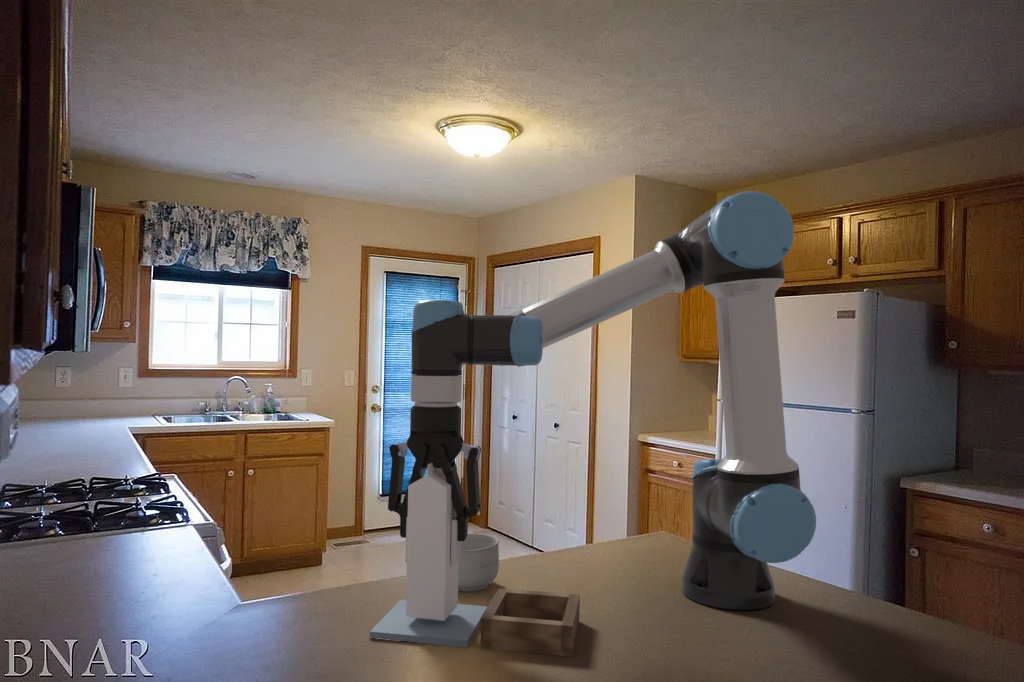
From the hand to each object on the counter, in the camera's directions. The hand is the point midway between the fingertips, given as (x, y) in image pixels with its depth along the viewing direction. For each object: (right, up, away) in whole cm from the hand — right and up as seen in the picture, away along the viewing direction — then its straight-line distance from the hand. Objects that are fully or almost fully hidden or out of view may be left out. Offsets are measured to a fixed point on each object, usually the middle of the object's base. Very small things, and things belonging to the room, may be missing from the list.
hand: (433, 560), depth 100 cm
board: (0, -9, 0) cm, 9 cm away
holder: (+15, -10, -3) cm, 18 cm away
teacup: (+4, -10, +19) cm, 22 cm away
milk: (0, -8, 0) cm, 8 cm away
